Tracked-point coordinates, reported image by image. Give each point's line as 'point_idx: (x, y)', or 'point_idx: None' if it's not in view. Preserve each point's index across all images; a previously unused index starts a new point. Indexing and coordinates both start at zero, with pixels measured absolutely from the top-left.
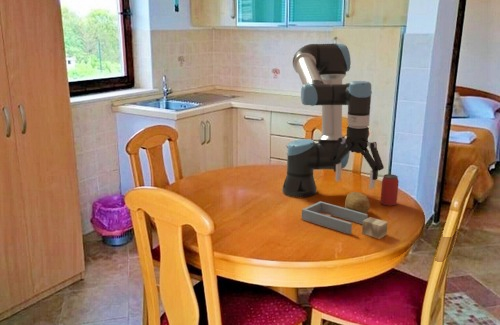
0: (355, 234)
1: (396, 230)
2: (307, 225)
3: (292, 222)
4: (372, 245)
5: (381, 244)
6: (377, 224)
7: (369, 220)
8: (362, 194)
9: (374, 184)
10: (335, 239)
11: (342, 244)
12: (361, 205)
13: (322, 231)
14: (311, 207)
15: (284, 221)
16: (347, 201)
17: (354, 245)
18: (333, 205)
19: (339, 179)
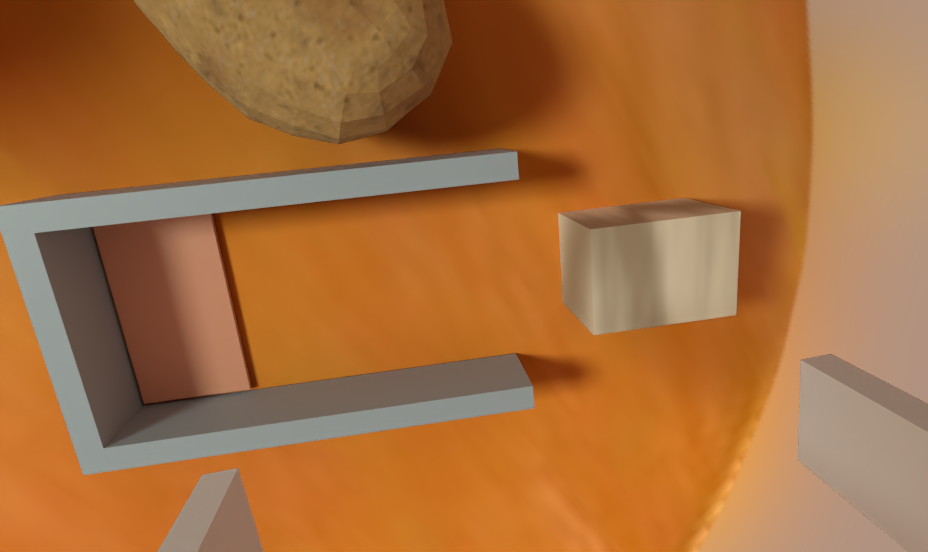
0: (541, 344)
1: (703, 82)
2: (239, 467)
3: (136, 506)
4: (692, 387)
5: (724, 340)
6: (705, 309)
7: (625, 292)
8: None
9: (870, 383)
10: (501, 480)
11: (567, 496)
12: (416, 101)
13: (373, 460)
14: (83, 378)
15: (89, 533)
16: (233, 93)
17: (620, 458)
18: (167, 203)
19: (244, 518)
